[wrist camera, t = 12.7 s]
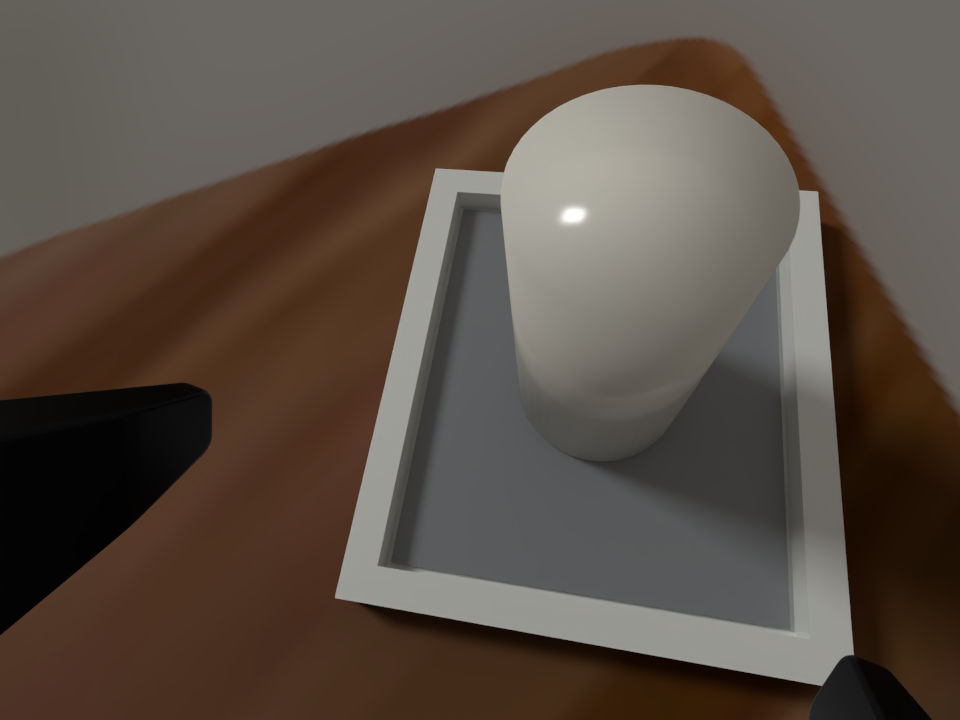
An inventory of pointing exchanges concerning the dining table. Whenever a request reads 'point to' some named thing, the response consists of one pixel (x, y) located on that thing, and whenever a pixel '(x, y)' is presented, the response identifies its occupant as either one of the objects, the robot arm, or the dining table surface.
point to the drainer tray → (607, 476)
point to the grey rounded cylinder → (635, 256)
